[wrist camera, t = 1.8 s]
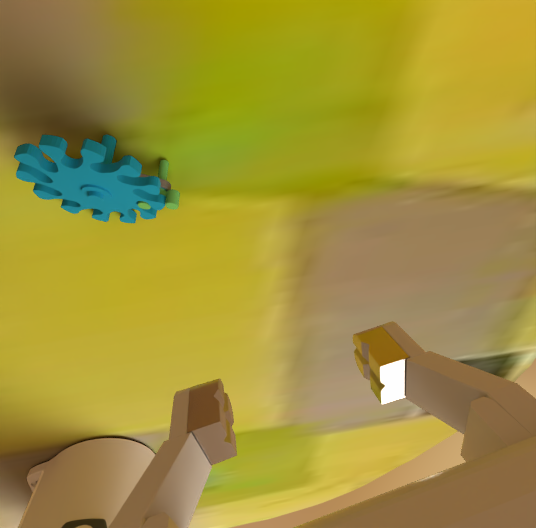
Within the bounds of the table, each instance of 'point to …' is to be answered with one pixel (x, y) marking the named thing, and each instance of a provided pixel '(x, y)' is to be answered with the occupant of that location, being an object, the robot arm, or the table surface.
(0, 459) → the table surface
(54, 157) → the gear
